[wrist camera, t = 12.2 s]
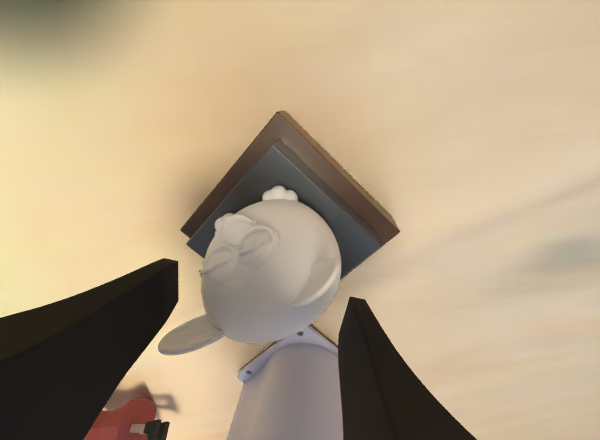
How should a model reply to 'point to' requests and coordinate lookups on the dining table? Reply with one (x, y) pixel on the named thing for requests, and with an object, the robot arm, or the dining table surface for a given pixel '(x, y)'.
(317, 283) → the figurine
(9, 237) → the dining table surface
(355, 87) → the dining table surface
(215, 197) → the stack
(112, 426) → the toy
